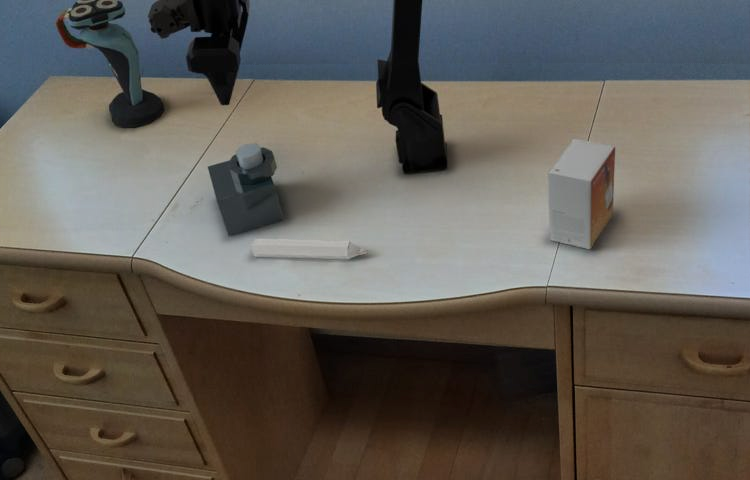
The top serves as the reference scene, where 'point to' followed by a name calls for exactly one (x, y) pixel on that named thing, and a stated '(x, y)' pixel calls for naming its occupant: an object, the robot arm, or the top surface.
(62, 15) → the electric shaver
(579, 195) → the small box
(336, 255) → the pale grey rod
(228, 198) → the push button box
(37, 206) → the top surface
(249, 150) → the pale grey disc
